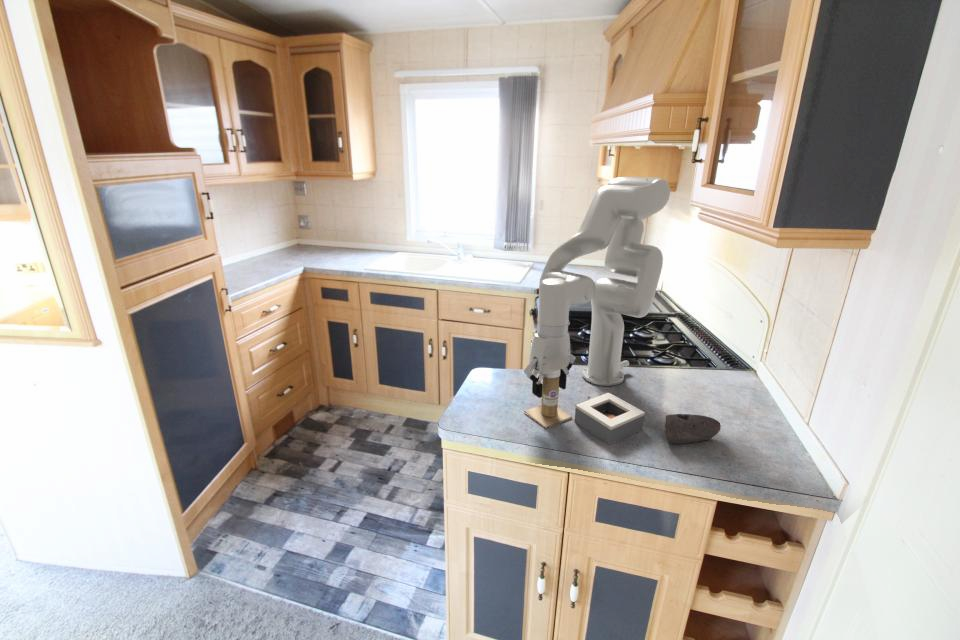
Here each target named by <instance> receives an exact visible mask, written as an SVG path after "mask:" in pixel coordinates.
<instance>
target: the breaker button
mask: <svg viewBox="0 0 960 640" xmlns="http://www.w3.org/2000/svg"><path fill="white" fill-rule="evenodd" d="M602 414H603V415H605V416H607V417H608V418H610V419H612V418H614V417H617V416H615V415H613V414H612V413H610V414H609V413H602Z"/></svg>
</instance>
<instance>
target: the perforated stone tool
mask: <svg viewBox="0 0 960 640" xmlns="http://www.w3.org/2000/svg"><path fill="white" fill-rule="evenodd" d="M664 428H665V432H664V436H665V439H666V442H667V443H672V444H686V443H687V444H689V443H695V442H696V443H697V442H702V441H706V440H707V441H708V440H709V439H711V438H713V437H715V436H717V434H719V433H720V431H721V429H722V425H721V422H719V420H717V419H715V418H713V417H710V416H706V415H699V414H689V413H677V414H676V413H675V414H666V415H665V422H664Z"/></svg>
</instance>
